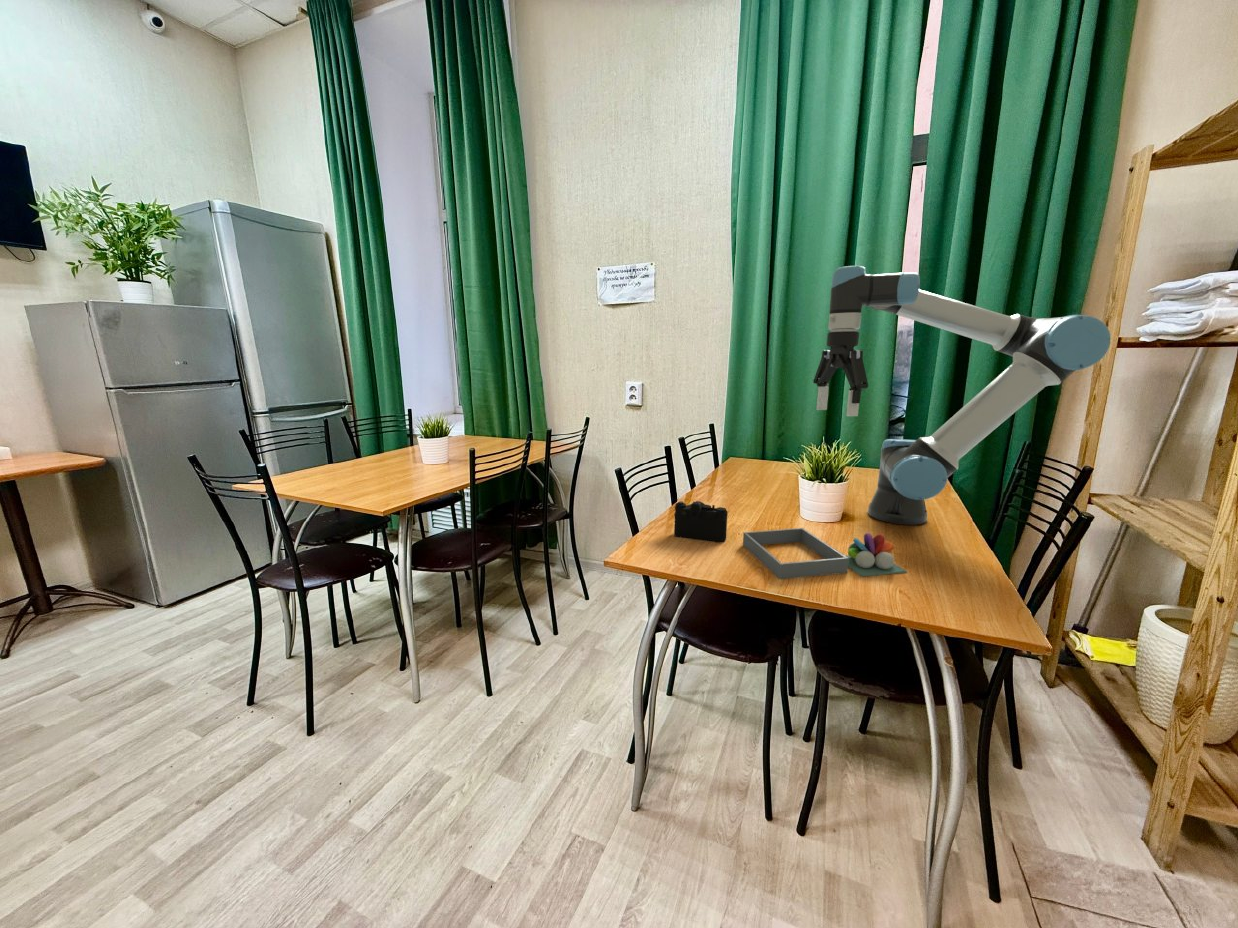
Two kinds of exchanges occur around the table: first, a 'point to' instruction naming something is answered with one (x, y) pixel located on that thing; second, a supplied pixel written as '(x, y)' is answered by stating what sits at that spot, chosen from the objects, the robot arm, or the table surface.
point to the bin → (829, 565)
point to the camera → (700, 522)
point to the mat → (873, 569)
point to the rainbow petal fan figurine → (872, 552)
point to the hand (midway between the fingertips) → (836, 413)
